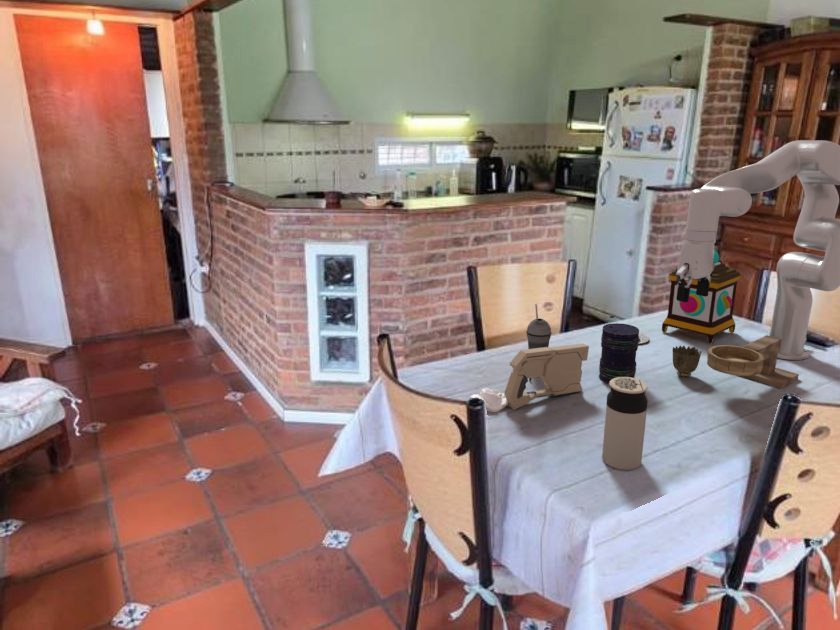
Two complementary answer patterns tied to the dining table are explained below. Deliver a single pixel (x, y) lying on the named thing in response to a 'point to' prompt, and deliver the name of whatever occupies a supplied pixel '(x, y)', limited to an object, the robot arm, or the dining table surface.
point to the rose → (492, 399)
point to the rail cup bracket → (752, 361)
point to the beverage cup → (538, 333)
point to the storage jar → (618, 351)
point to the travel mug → (625, 423)
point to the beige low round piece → (643, 338)
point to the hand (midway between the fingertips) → (692, 298)
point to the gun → (546, 372)
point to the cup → (685, 360)
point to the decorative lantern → (705, 304)
